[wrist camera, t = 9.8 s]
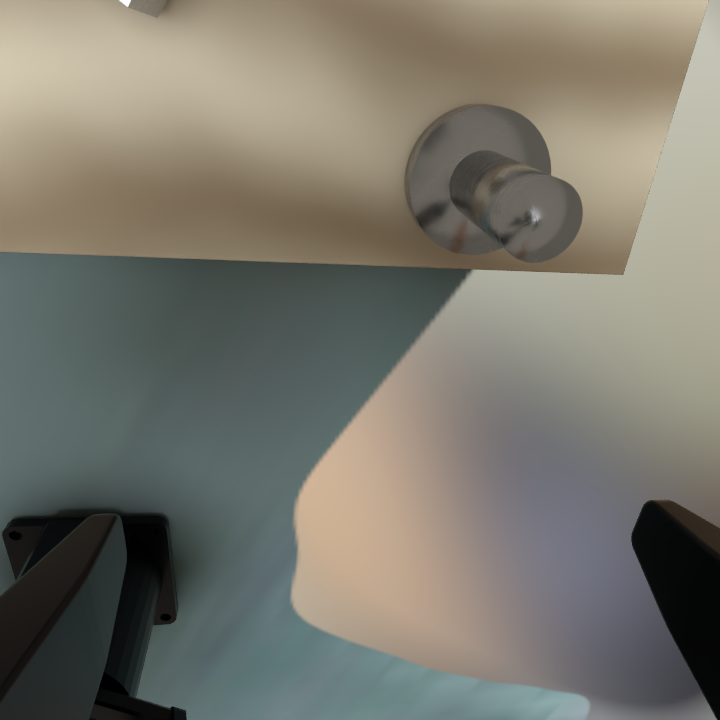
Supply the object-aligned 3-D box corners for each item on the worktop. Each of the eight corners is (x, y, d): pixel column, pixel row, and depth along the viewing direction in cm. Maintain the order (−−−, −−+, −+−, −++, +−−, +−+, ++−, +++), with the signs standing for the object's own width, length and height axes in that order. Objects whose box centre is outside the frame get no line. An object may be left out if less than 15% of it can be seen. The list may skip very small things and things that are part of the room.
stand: (522, 248, 19) (602, 311, 14) (397, 243, 18) (436, 306, 14) (552, 109, 17) (658, 127, 12) (413, 98, 16) (466, 111, 12)
